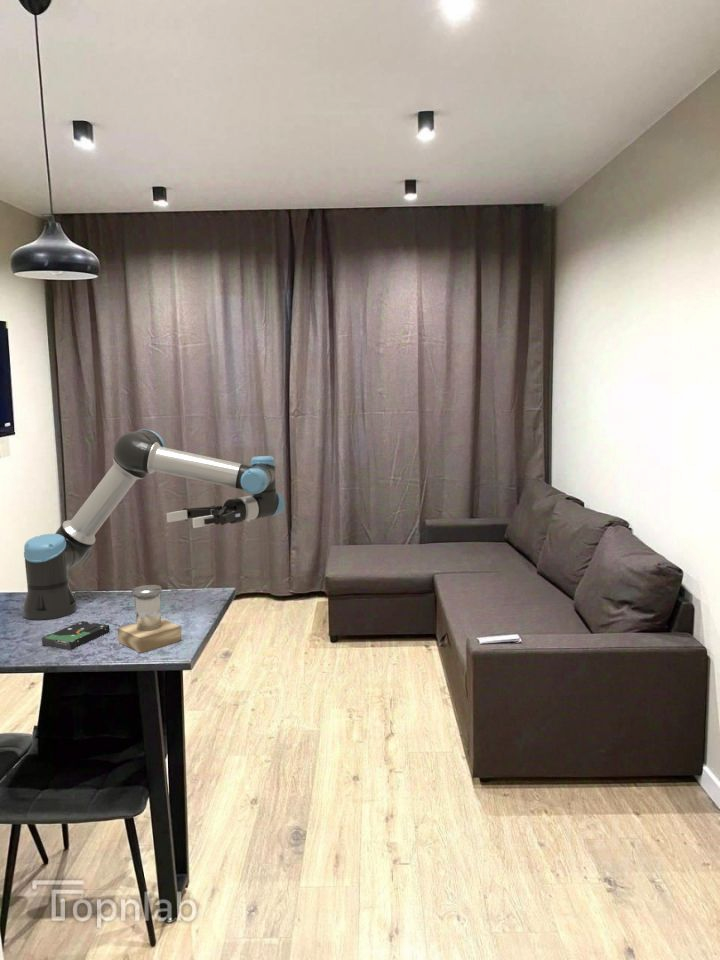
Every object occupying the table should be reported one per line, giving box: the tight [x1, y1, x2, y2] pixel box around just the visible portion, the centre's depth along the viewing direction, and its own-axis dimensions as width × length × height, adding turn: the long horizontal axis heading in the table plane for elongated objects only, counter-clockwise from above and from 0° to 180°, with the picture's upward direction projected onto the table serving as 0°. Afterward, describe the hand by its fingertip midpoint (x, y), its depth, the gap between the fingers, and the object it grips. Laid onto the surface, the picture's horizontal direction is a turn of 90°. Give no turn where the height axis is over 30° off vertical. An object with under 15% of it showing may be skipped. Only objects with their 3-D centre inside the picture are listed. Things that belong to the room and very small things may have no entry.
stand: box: [117, 618, 182, 654], centre depth 193 cm, size 12×12×4 cm
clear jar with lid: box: [131, 584, 163, 631], centre depth 193 cm, size 8×8×11 cm
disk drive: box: [41, 620, 111, 651], centre depth 197 cm, size 10×3×15 cm
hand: (180, 520), depth 206 cm, fingers open, 13 cm apart
